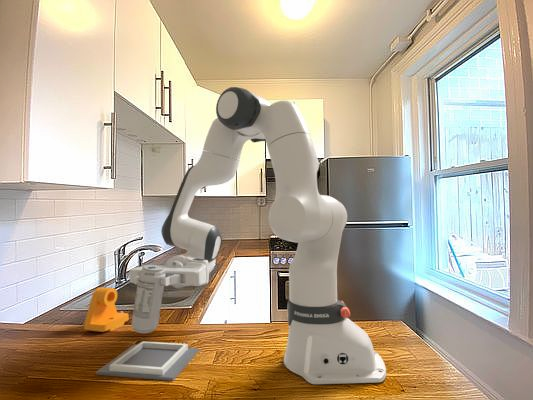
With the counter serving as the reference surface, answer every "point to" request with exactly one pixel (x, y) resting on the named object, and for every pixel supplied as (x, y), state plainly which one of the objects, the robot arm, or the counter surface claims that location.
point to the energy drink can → (148, 299)
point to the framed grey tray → (150, 361)
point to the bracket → (104, 311)
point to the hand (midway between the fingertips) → (149, 281)
